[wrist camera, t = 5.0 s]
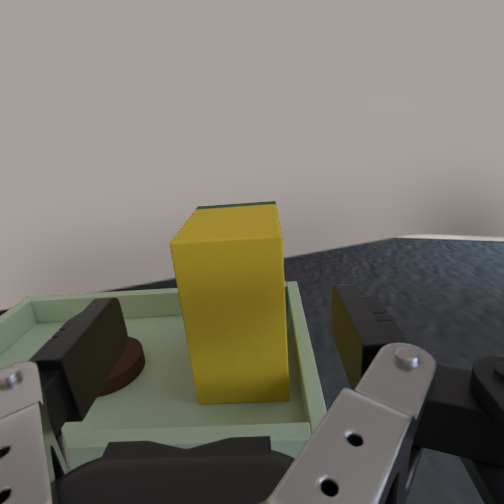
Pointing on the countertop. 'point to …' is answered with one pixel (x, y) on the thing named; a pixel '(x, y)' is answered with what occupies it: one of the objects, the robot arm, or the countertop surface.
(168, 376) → the tray
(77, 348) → the robot arm
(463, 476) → the countertop surface
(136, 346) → the brown round disc
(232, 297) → the sponge
